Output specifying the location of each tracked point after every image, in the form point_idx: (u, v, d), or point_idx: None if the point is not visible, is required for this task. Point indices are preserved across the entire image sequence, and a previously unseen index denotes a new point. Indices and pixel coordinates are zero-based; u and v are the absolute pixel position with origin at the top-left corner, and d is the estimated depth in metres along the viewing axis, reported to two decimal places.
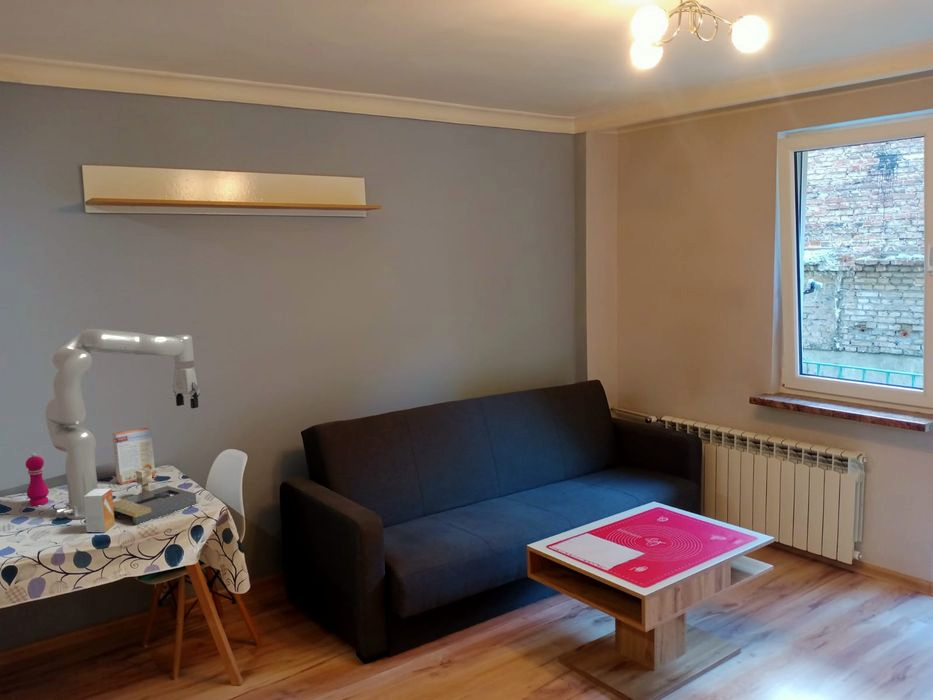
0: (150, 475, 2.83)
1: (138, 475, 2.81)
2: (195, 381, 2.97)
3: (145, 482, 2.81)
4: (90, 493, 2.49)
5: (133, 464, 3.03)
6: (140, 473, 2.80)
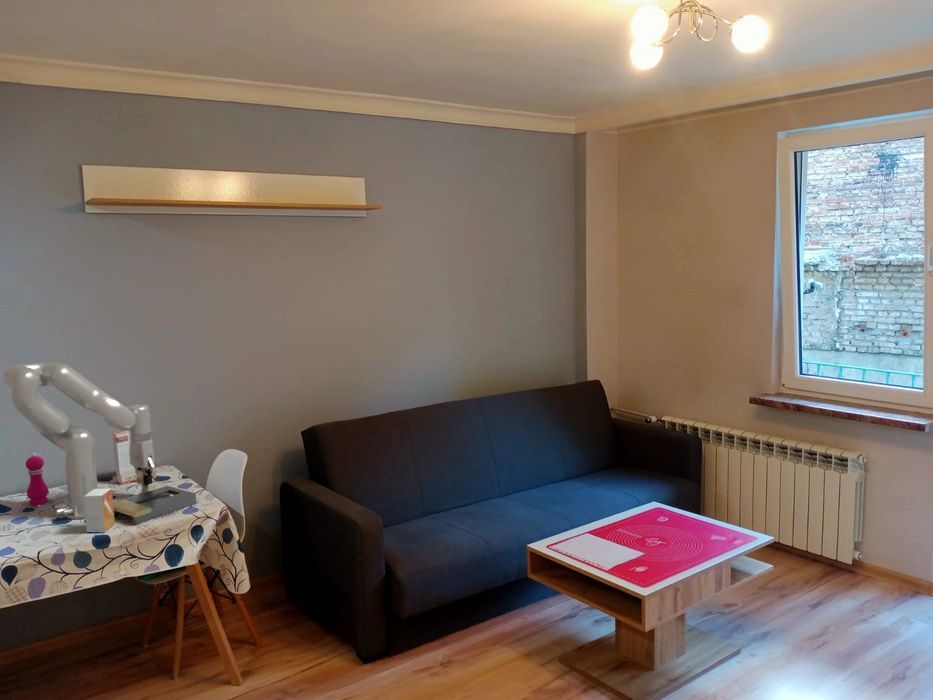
0: None
1: (138, 475, 2.81)
2: (152, 454, 2.80)
3: None
4: (90, 493, 2.49)
5: None
6: (140, 473, 2.80)
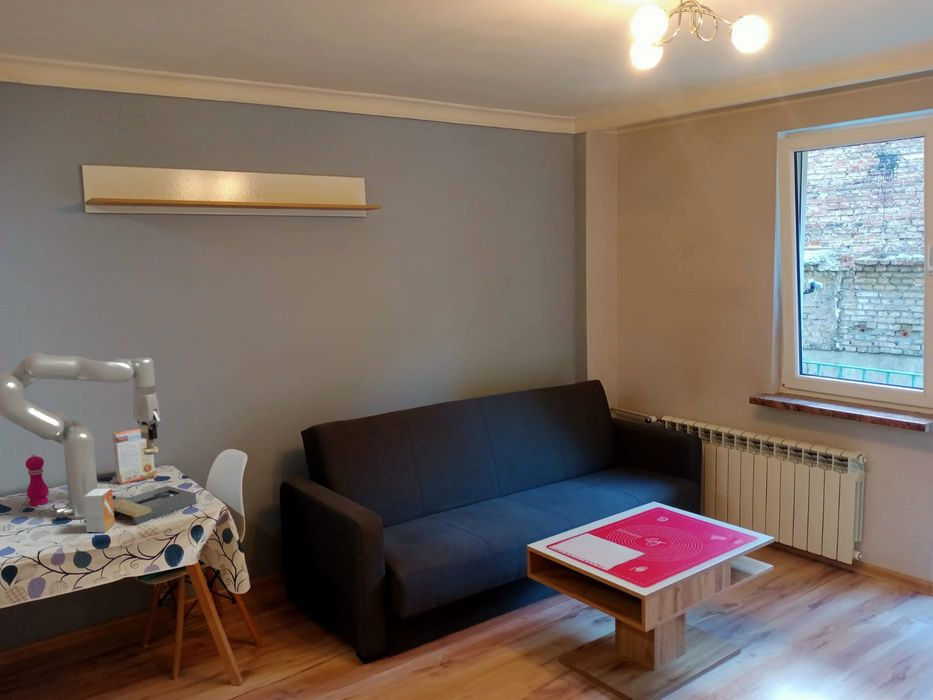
0: None
1: (143, 429, 2.75)
2: (157, 408, 2.74)
3: None
4: (90, 493, 2.49)
5: (133, 464, 3.03)
6: (145, 427, 2.74)
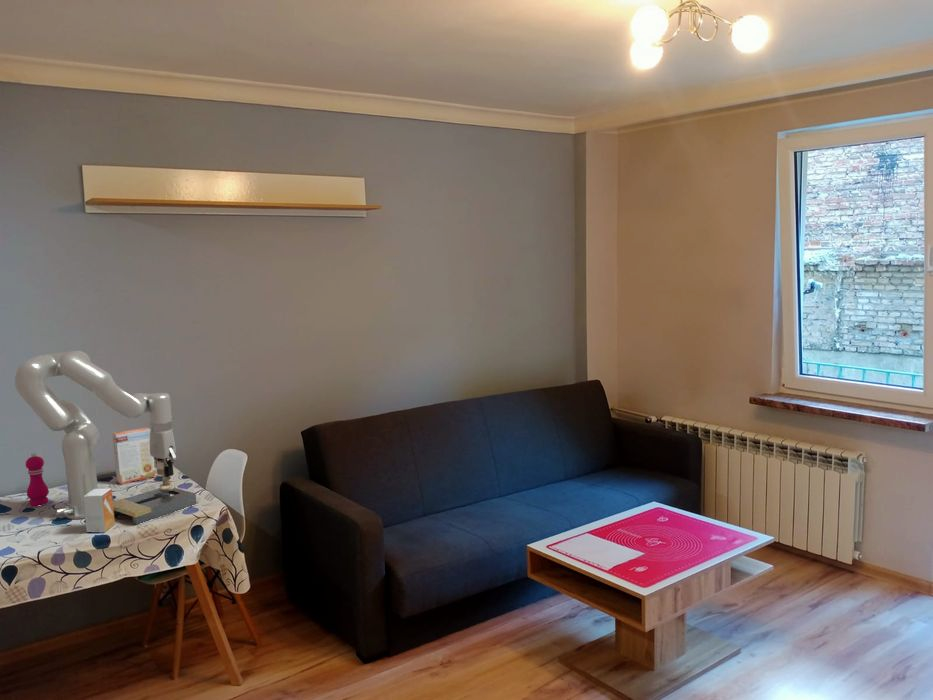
0: None
1: (159, 466, 2.70)
2: (173, 445, 2.69)
3: None
4: (90, 493, 2.49)
5: (133, 464, 3.03)
6: (161, 464, 2.70)
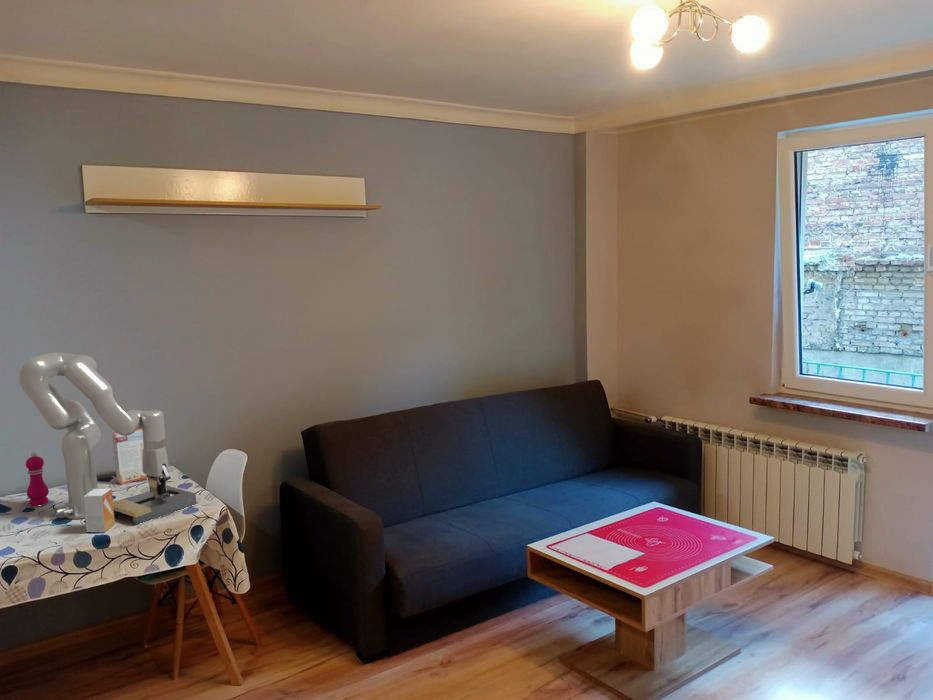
0: None
1: (152, 484, 2.69)
2: (166, 462, 2.67)
3: None
4: (90, 493, 2.49)
5: (133, 464, 3.03)
6: (154, 482, 2.68)
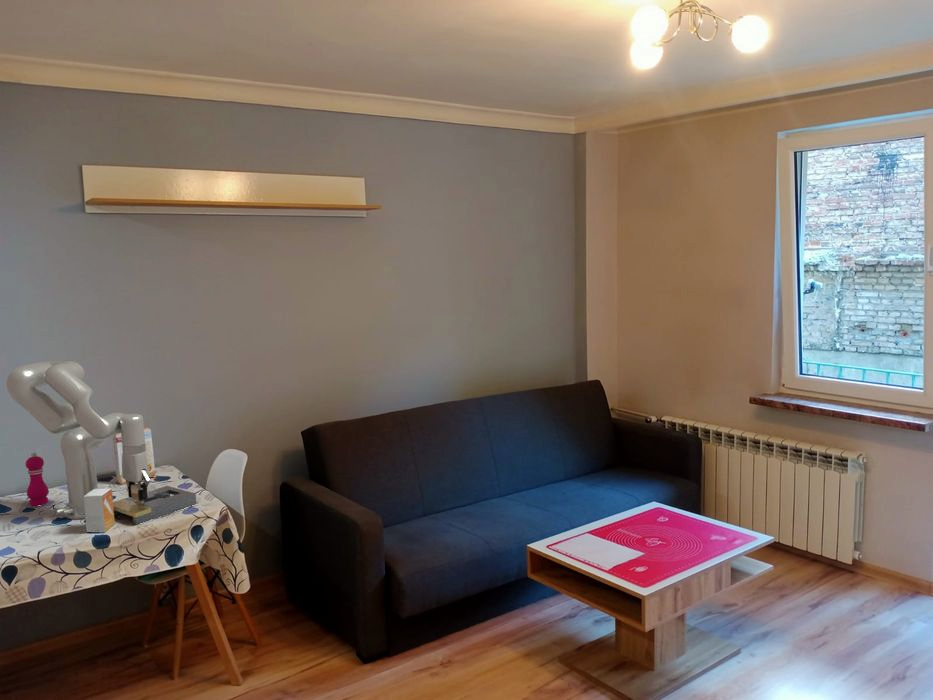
0: None
1: (133, 490, 2.63)
2: (146, 467, 2.61)
3: None
4: (90, 493, 2.49)
5: None
6: (135, 488, 2.62)
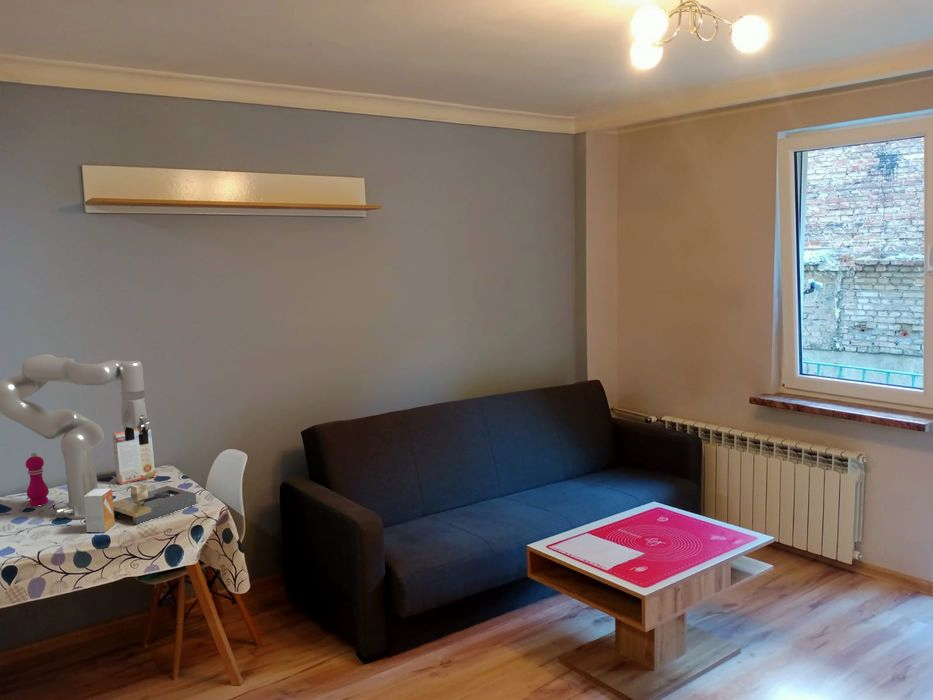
0: (146, 490, 2.64)
1: (133, 490, 2.63)
2: (145, 414, 2.61)
3: (140, 498, 2.63)
4: (90, 493, 2.49)
5: (133, 464, 3.03)
6: (135, 488, 2.62)
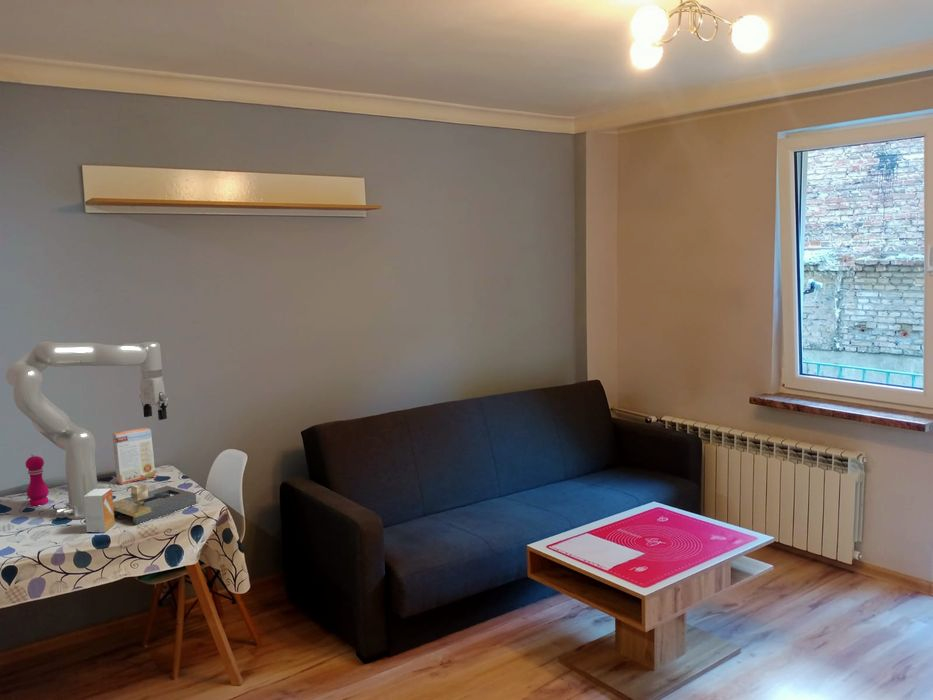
0: (146, 490, 2.65)
1: (133, 490, 2.63)
2: (163, 391, 2.81)
3: (140, 498, 2.63)
4: (90, 493, 2.49)
5: (133, 464, 3.03)
6: (135, 488, 2.62)
